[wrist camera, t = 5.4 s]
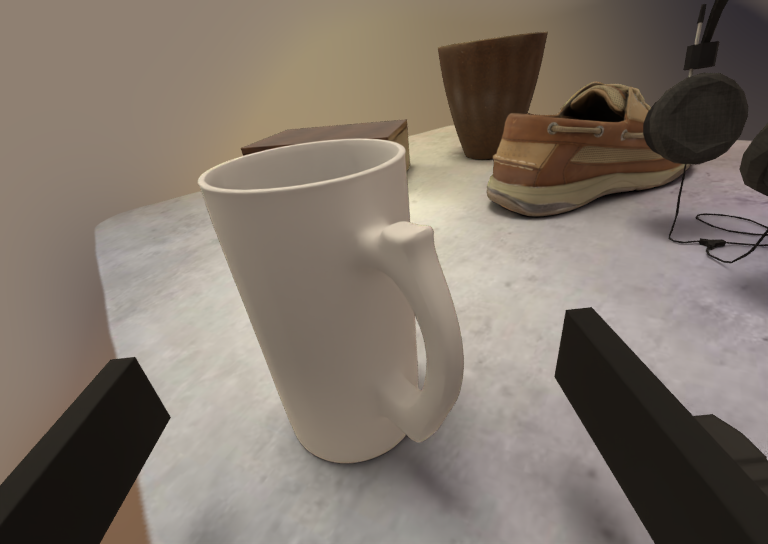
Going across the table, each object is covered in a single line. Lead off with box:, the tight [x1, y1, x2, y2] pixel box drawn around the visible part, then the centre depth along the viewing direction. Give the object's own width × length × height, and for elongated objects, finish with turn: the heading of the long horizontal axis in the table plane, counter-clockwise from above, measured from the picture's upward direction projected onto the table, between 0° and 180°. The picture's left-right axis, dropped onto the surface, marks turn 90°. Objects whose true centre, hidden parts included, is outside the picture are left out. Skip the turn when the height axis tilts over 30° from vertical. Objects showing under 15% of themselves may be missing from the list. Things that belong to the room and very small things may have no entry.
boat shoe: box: [487, 82, 691, 216], centre depth 39 cm, size 11×29×10 cm, turn 121°
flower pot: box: [438, 32, 548, 159], centre depth 56 cm, size 15×15×16 cm
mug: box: [198, 139, 464, 463], centre depth 14 cm, size 10×7×12 cm, turn 38°
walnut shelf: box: [241, 120, 410, 172], centre depth 53 cm, size 20×14×7 cm
